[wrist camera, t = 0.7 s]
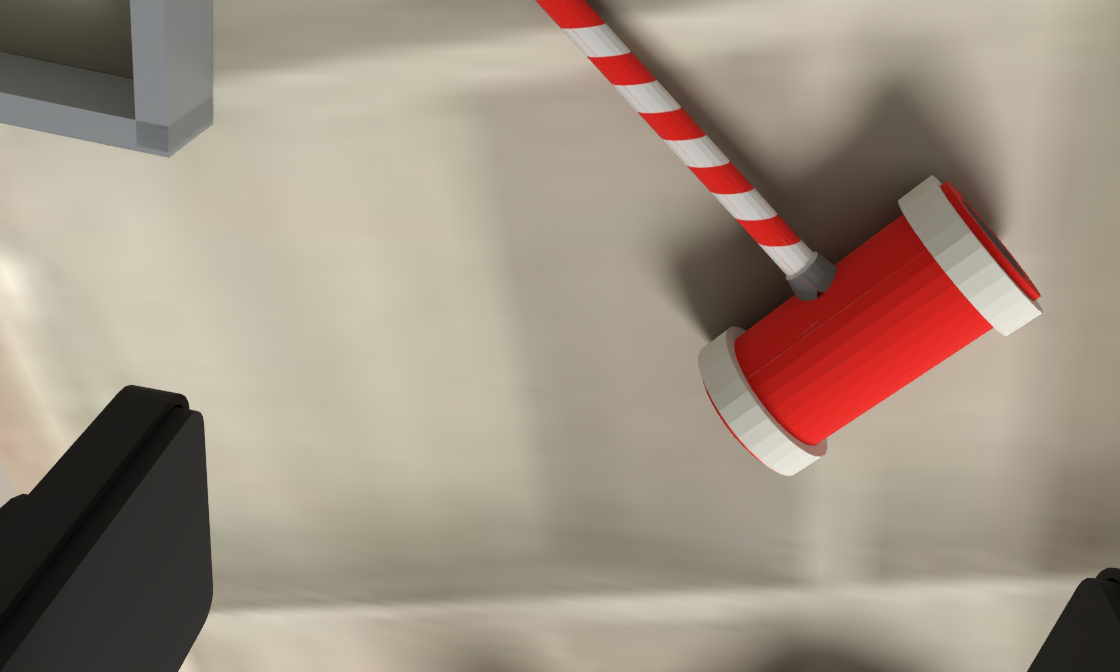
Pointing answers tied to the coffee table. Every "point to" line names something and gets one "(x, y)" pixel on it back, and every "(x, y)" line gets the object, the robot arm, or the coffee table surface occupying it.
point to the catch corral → (124, 85)
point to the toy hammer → (826, 287)
